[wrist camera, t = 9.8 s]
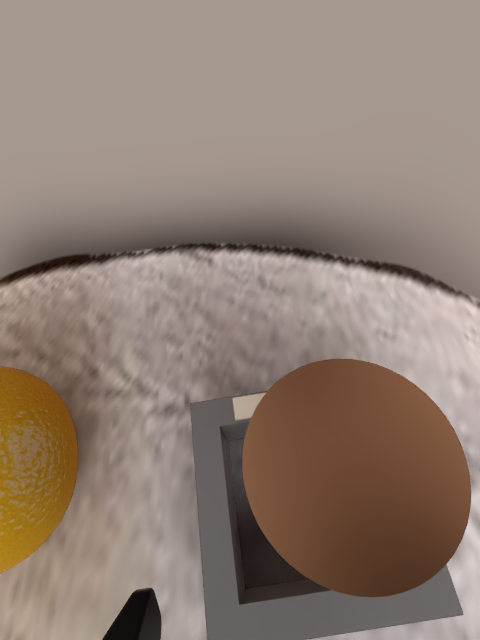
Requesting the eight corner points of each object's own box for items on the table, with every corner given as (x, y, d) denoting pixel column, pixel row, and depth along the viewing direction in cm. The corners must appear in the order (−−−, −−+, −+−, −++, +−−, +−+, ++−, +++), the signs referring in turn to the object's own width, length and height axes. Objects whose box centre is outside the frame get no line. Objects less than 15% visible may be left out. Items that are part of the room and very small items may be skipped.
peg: (290, 564, 17) (328, 658, 5) (246, 482, 19) (204, 422, 7) (360, 515, 18) (524, 506, 6) (311, 440, 19) (368, 326, 8)
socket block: (220, 628, 16) (207, 656, 13) (202, 420, 20) (189, 402, 17) (426, 596, 16) (466, 616, 13) (364, 395, 20) (382, 371, 17)
